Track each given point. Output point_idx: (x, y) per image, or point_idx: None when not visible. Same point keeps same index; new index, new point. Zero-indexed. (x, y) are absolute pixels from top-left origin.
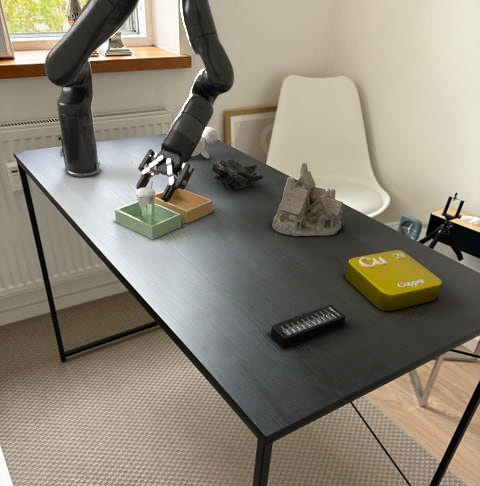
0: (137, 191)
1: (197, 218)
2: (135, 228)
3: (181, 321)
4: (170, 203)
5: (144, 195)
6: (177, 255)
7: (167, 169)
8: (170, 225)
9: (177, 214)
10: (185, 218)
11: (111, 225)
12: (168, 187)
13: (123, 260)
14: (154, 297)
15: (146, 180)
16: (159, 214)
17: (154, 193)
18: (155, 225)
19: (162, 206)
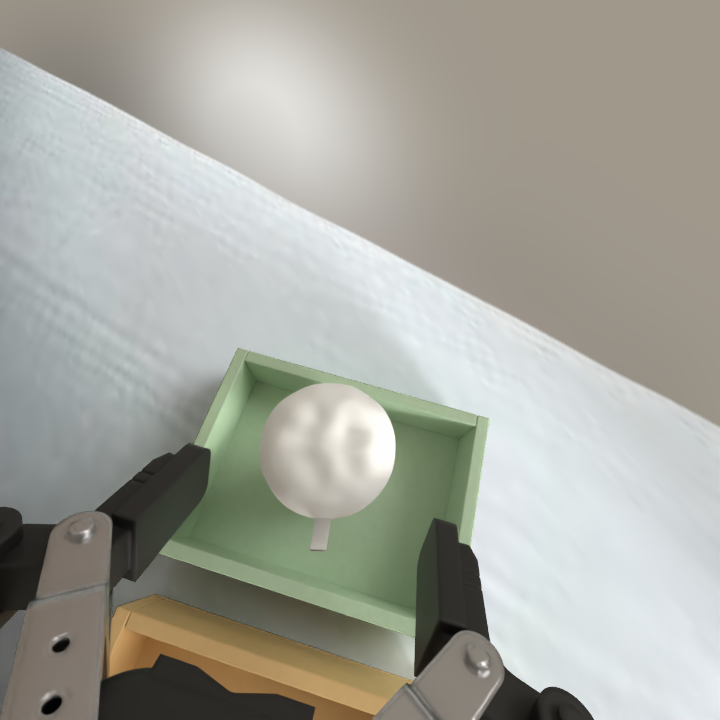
0: (370, 403)
1: None
2: None
3: (32, 92)
4: (262, 674)
5: (304, 388)
6: (118, 314)
7: (99, 667)
8: None
9: None
10: (152, 601)
11: (462, 397)
12: (128, 500)
13: (278, 225)
14: (121, 132)
15: (424, 627)
16: (313, 578)
17: (259, 455)
18: (229, 367)
19: (290, 594)
